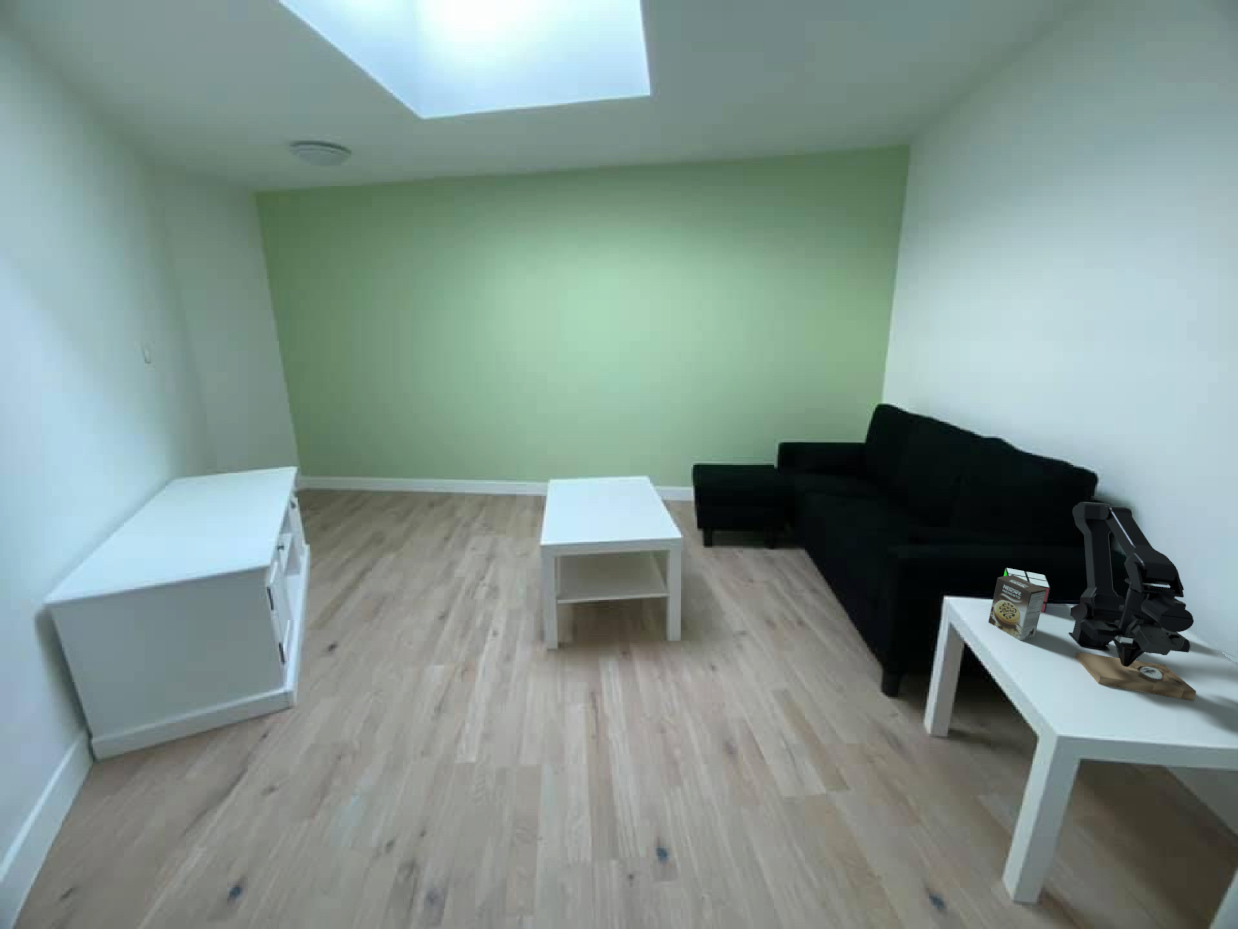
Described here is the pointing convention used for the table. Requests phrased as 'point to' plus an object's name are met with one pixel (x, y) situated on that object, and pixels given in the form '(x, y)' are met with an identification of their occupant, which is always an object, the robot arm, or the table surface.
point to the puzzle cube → (1034, 579)
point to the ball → (1152, 673)
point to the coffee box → (1016, 606)
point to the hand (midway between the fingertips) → (1124, 665)
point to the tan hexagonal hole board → (1135, 676)
